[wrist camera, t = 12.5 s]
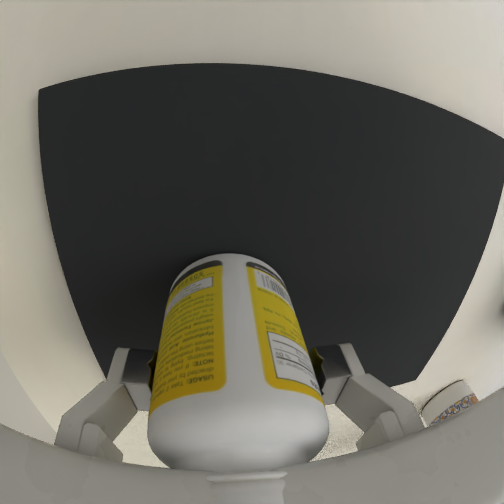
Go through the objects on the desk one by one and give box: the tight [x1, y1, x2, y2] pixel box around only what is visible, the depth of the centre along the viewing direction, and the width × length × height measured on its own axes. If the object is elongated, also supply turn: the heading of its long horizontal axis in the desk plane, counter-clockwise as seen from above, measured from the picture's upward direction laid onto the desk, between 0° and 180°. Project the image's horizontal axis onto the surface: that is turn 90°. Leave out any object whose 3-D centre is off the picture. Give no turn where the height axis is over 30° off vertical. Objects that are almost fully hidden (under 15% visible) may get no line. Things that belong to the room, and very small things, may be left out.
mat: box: [38, 63, 504, 387], centre depth 14 cm, size 24×20×1 cm
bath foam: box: [422, 381, 479, 427], centre depth 16 cm, size 7×7×20 cm
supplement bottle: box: [147, 254, 329, 504], centre depth 8 cm, size 5×5×10 cm
